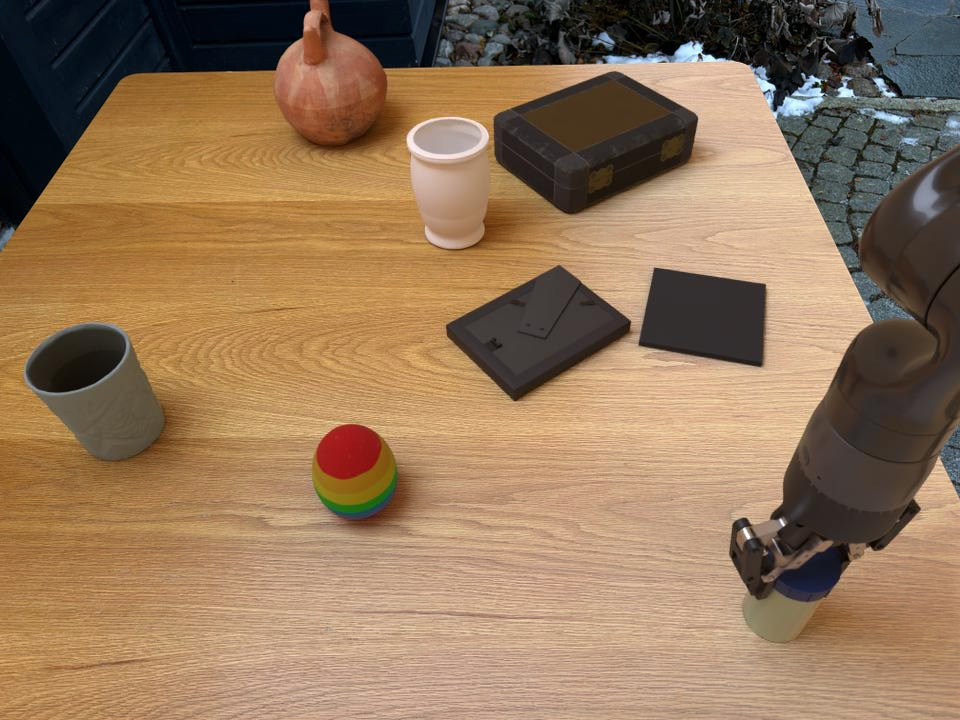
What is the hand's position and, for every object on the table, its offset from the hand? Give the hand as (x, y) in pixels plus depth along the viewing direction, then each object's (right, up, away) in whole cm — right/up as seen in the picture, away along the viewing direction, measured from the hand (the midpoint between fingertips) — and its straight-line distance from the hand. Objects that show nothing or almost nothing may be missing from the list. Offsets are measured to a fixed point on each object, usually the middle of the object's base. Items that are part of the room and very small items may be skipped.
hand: (791, 579), depth 61 cm
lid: (0, +2, -2) cm, 3 cm away
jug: (-49, +57, +65) cm, 100 cm away
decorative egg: (-38, +4, +15) cm, 40 cm away
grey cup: (-65, +10, +22) cm, 69 cm away
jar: (-29, +36, +44) cm, 64 cm away
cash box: (-8, +49, +56) cm, 75 cm away
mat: (+2, +23, +30) cm, 39 cm away
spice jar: (0, -4, +4) cm, 6 cm away
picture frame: (-18, +21, +30) cm, 41 cm away
